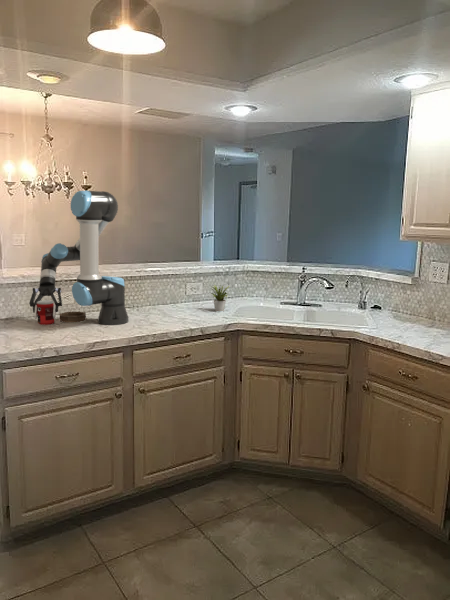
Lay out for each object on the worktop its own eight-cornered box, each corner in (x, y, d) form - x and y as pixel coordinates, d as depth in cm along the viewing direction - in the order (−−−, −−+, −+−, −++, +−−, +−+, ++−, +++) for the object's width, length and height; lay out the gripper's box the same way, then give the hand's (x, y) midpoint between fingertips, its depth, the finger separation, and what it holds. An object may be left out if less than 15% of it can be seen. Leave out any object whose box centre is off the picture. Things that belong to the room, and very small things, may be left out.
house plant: (202, 312, 283) (202, 283, 280) (208, 307, 296) (208, 280, 293) (226, 313, 280) (227, 284, 277) (231, 309, 293) (232, 281, 290)
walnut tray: (91, 319, 261) (90, 313, 261) (72, 323, 250) (72, 317, 250) (72, 316, 267) (72, 310, 267) (54, 320, 256) (54, 314, 256)
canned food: (40, 321, 253) (39, 300, 251) (56, 321, 254) (55, 300, 252) (35, 325, 246) (34, 303, 244) (52, 325, 246) (51, 303, 244)
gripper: (69, 284, 264) (67, 320, 251) (27, 284, 259) (23, 322, 247) (68, 275, 258) (66, 312, 245) (25, 275, 253) (20, 313, 241)
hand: (44, 317), depth 246 cm, fingers closed on canned food, 8 cm apart
